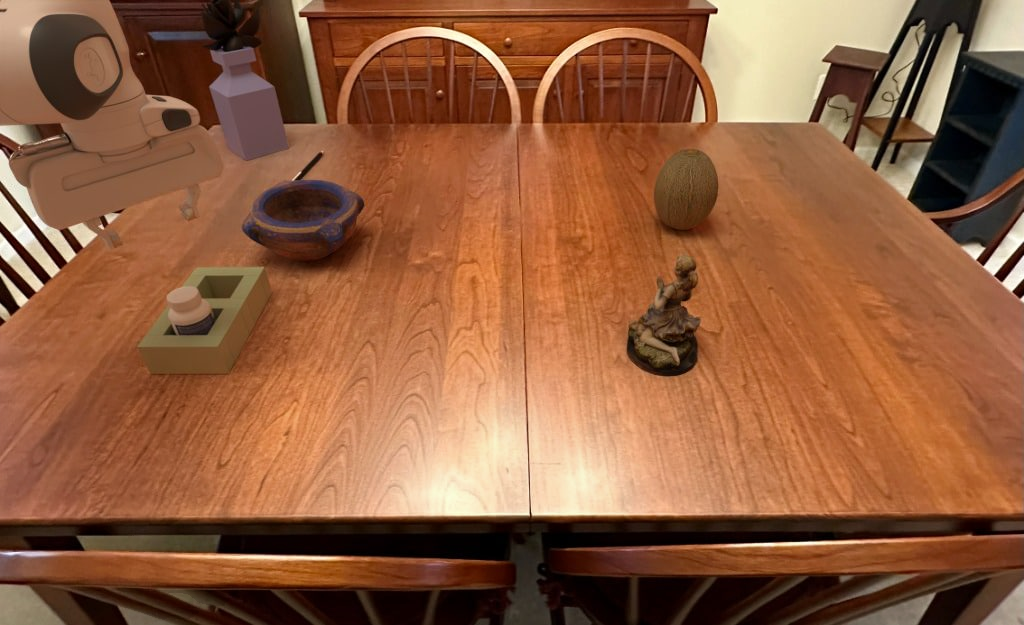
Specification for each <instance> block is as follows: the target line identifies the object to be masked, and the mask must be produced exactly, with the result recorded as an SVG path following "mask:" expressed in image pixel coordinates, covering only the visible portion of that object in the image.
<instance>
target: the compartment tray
mask: <svg viewBox="0 0 1024 625" xmlns="http://www.w3.org/2000/svg"><path fill="white" fill-rule="evenodd" d="M184 286H192V287H196V288H197V289H198V291H199V293H200V295H201V298H202V299H204V300H206V301H207V302H208V303H209V304H210V306H211V308H212V311H213V313H214V316H215V319H216V322H215V323H214V325H213V327H212V328H211V330H210V331H209V333H208V335H176V334H175V331H174V329H173V327H172V325H171V322H170V321H169V318H168V312H169V310H170V307H169V304H167V306H166V307H165V308H164V310H163V311H162V312H161V314H160V315H159V317H158V318H157V319H156V321H155V322H154V323H153V325H152V326H151V327H150V328H149V330H148V331H147V332H146V334H145V335H144V336H143V338H142V339H141V341H140V342H139V343H138V344H137V346H136V349H137V350H138V353H139V354H140V356H141V358H142V361H143V362H144V364H145V367H146V368H147V369H148V372H149V373H150V375H229V374H230V372H231V370H232V369H233V367H234V365H235V363H236V361H237V359H238V358H239V356H240V354H241V351H242V349H243V348H244V346H245V344H246V343H247V341H248V339H249V337H250V335H251V333H252V331H253V329H254V328H255V325H256V323H257V322H258V320H259V318H260V316H261V314H262V313H263V311H264V309H265V307H266V305H267V304H268V301H269V299H270V297H271V296H272V294H273V290H272V287H271V284H270V280H269V277H268V274H267V270H266V267H265V266H196V267H195V268H194V269H193V271H192V272H191V274H190V275H189V276H188V278H186V280H185V282H184V283H183V284H182V286H181V287H184Z"/></svg>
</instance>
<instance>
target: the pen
mask: <svg viewBox="0 0 1024 625" xmlns="http://www.w3.org/2000/svg"><path fill="white" fill-rule="evenodd" d="M324 151H325V150H321V151H319V152H318V153H317V154H316V155H315V156H314V157H313V158H312V159H311V160H310V162H309V163H307V164H306V166H305V167H304V168H303V169H302V170H300V171H299V172H298V173H297V174H296V175H295V176H294V177H293V178H292V179H291V180H290V181H293V180H301V179H302V177H303V176H304V175H306V173H307V172H309V170H310V169H311V168H312V167H313V166H314V165H315V164H316V163H317V161H318V160H319V159H321V157H322V156H323V155H324Z"/></svg>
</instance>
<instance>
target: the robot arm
mask: <svg viewBox="0 0 1024 625" xmlns="http://www.w3.org/2000/svg"><path fill="white" fill-rule="evenodd" d="M200 123H201V116H200V112H199V111H198V109H197V108H195V106H193V105H191V104H190V103H188V102H186V101H184V100H181V99H179V98H176V97H173V96H169V95H157V94H156V95H155V94H146V91H145V89H144V86H143V84H142V82H141V81H140V79H139V78H138V77H137V75H136V74H135V71H134V70H133V67H132V64H131V58H130V48H129V45H128V42H127V39H126V36H125V34H124V31H123V29H122V26H121V24H120V21H119V19H118V17H117V15H116V12H115V10H114V7H113V5H112V3H111V1H110V0H0V127H2V126H3V127H5V126H7V127H9V126H31V125H51V124H52V125H53V124H60V126H61V128H62V130H63V132H64V133H60V134H57V135H52V136H50V137H47V138H44V139H41V140H38V141H34V142H33V141H30V142H24V143H23V144H19V145H18V146H17V150H15V151H13V152H12V153H11V155H10V156H9V158H8V167H9V169H10V171H11V173H12V175H13V177H14V178H15V180H16V182H18V184H20V185H21V186H23V187H24V188H26V190H27V193H28V196H29V198H30V202H31V203H32V206H33V208H34V211H35V213H36V214H37V216H38V218H39V220H40V221H42V222H43V224H44V225H45V226H47V227H50V228H52V229H54V230H57V231H61V230H65V229H68V228H70V227H73V226H76V225H79V224H83V226H85V227H86V228H87V229H88V230H90V231H91V232H93V233H94V234H96V235H97V236H99V237H100V239H101V240H102V242H103V244H104V245H105V247H106V248H107V249H108V250H109V251H113V250H114V249H117V248H120V247H123V246H124V244H123V242H122V240H121V237H120V234H119V233H118V232H117V231H116V230H115V229H114V228H111V229H107V230H104V229H103V228H101V227H100V226H102V221H101V219H100V217H103V216H107V215H110V214H112V213H115V212H118V211H121V210H125V209H128V208H130V207H134V206H136V205H139V204H142V203H145V202H149V201H150V200H151V201H152V200H155V199H157V198H160V197H164V196H167V195H169V194H172V193H176V192H178V191H181V190H183V191H185V199H184V203H183V204H180V205H178V208H179V211H180V212H181V216H182V218H183V219H184V220H186V221H187V222H191V221H193V220H196V219H199V218H200V217H201V216H200V213H199V211H198V207H197V206H198V203H199V199H200V196H201V192H202V191H201V188H200V185H199V184H202V183H205V182H208V181H211V180H214V179H218V178H220V177H221V175H222V173H223V170H224V163H223V159H222V156H221V153H220V152H219V149H218V147H217V145H216V143H215V140H214V138H213V137H212V135H211V132H209V130H207V129H206V128H205V127H204V126H202V125H200Z"/></svg>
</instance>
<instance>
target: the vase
mask: <svg viewBox="0 0 1024 625" xmlns="http://www.w3.org/2000/svg"><path fill="white" fill-rule="evenodd" d="M200 2H201V7H202V9H203V10H201V11H200V16H201V19H202V23H203V27H204V29H205V33H206V34H207V36H208V37H209V38H210V39H211V40H213V42H211V43H208V44H203V45H201V47H202V48H204V49H206V50H208V51H209V53H210V55H211V59H212V61H213V62H214V63H216V64H218V65H220V66H221V68H222V72H221V73H220V75H218V77H217V78H216V79H215V80H214V81H213V82H212V83H211V84H210V85H209V86H208V88H209V91H210V94H211V98H212V100H213V104H214V107H215V111H216V113H217V118H218V120H219V123H220V127H221V130H222V134H223V137H224V140H225V143H226V147H227V149H228V150H230V151H231V152H232V153H234V154H236V155H237V156H238V157H240V159H243V160H244V161H246V162H248V161H250V160H251V161H252V160H254V159H257V158H261V157H265V156H268V155H271V154H274V153H277V152H278V153H279V152H280V151H284V150H288V149H290V145H289V141H288V137H287V134H286V130H285V125H284V121H283V116H282V113H281V108H280V105H279V99H278V96H277V95H278V94H277V92H276V87H275V86H274V85H273V84H271V83H270V82H269V81H267V80H265V79H264V78H262V77H261V76H260V75H258V74H257V73H255V72H253V70H252V66H251V63H253V62H256V61H257V57H256V53H255V50H254V49H256V48H258V47H259V46H261V45H263V43H264V42H263V40H262V39H261V38H258V37H256V35H257V34H258V32H259V30H260V25H261V8H260V6H257V7H256V9H255V11H254V12H253V13H252V14H251V16H250V17H249V18H248V19H247V18H246V17H247V11H246V7H245V6H243V7H242V5H241V3H240V1H239V0H233V3H232V0H211V1H209V2H206V4H205V3H204V2H203V1H200ZM246 19H247V20H246ZM239 27H240V28H239ZM238 28H239V29H238ZM237 29H238V30H237Z"/></svg>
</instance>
